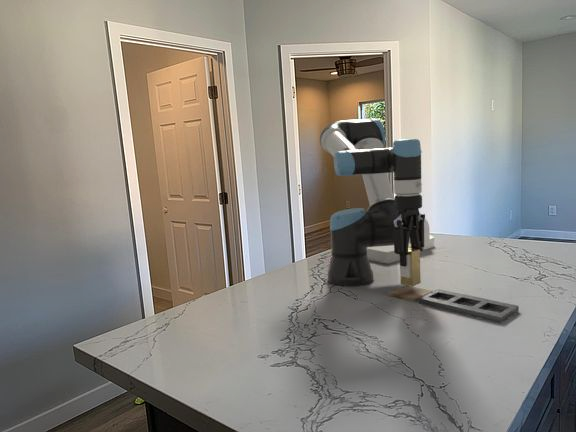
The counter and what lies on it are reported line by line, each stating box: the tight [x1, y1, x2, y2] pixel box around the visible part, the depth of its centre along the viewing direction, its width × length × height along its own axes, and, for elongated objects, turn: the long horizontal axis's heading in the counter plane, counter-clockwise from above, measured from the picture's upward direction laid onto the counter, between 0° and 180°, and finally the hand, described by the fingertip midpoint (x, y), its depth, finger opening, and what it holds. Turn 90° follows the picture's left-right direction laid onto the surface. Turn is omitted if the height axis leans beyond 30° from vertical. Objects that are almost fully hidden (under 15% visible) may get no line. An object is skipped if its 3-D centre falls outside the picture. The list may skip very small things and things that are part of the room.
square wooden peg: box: [399, 248, 422, 287], centre depth 127 cm, size 4×4×10 cm
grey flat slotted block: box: [418, 288, 519, 324], centre depth 115 cm, size 22×10×2 cm, turn 41°
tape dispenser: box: [409, 217, 435, 251], centre depth 191 cm, size 12×18×14 cm, turn 40°
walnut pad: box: [388, 285, 434, 303], centre depth 128 cm, size 9×9×1 cm
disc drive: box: [367, 243, 411, 264], centre depth 178 cm, size 18×22×5 cm
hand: (410, 274), depth 127 cm, fingers closed on square wooden peg, 4 cm apart
